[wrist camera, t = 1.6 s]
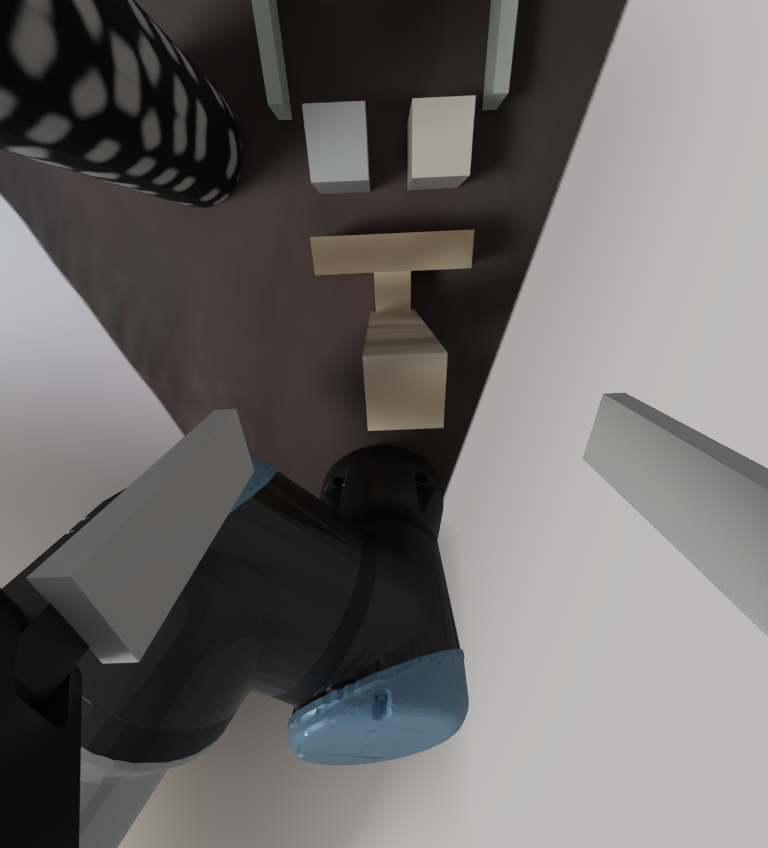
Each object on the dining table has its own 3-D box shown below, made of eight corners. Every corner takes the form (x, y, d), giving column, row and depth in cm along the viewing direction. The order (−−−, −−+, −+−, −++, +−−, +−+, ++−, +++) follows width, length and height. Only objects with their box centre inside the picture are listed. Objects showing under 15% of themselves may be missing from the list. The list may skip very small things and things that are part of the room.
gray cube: (370, 192, 25) (368, 180, 21) (321, 194, 25) (311, 182, 21) (367, 125, 23) (365, 100, 19) (313, 128, 23) (301, 103, 19)
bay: (495, 109, 22) (508, 93, 20) (278, 120, 23) (267, 104, 20) (513, -81, 19) (531, -128, 16) (251, -68, 19) (233, -112, 16)
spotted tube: (187, 31, 21) (-1031, -1447, 3) (264, 171, 24) (-61, -91, 6) (100, 108, 22) (-1006, -509, 4) (184, 228, 26) (-251, 150, 8)
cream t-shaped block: (453, 349, 30) (519, 424, 16) (333, 354, 30) (292, 433, 16) (461, 234, 26) (561, 198, 12) (319, 240, 26) (247, 212, 12)
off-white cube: (457, 188, 25) (469, 175, 21) (407, 190, 25) (412, 178, 21) (460, 121, 23) (475, 95, 19) (407, 123, 23) (412, 98, 19)
